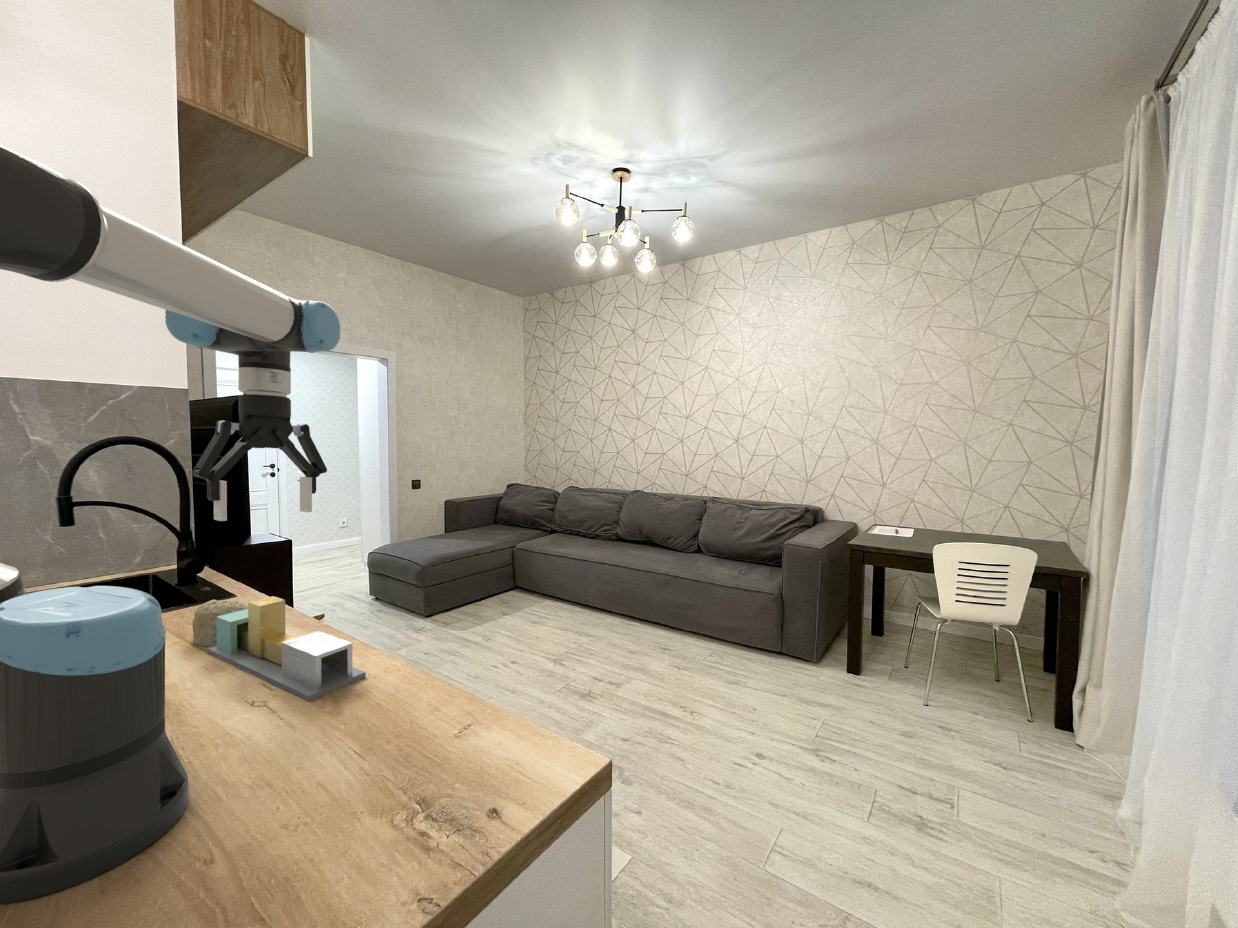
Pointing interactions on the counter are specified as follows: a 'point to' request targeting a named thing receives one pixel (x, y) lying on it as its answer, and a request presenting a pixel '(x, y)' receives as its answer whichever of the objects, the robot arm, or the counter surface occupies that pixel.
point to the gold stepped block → (264, 629)
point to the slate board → (274, 675)
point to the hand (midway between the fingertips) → (265, 515)
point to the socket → (230, 629)
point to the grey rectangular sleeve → (315, 657)
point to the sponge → (211, 620)
